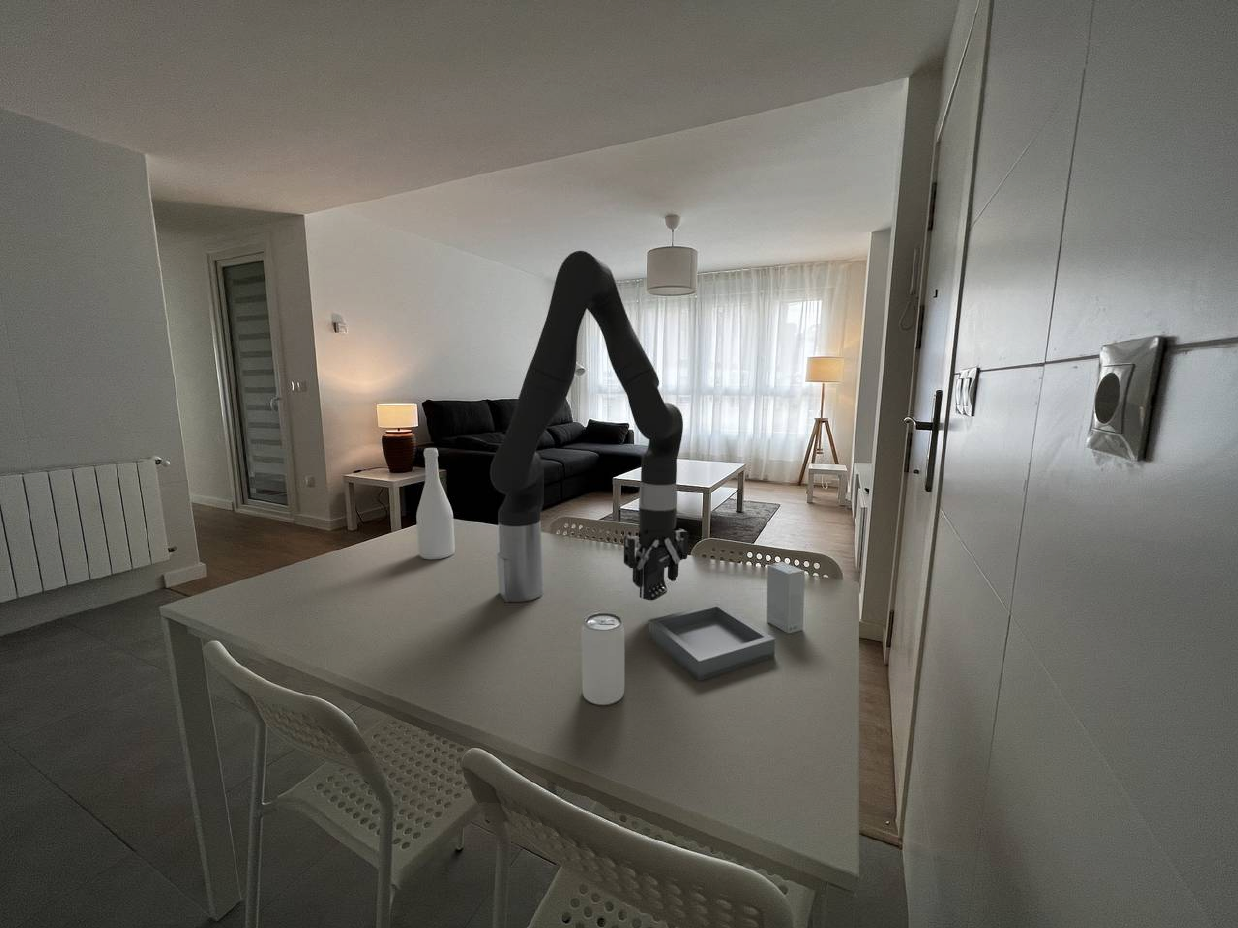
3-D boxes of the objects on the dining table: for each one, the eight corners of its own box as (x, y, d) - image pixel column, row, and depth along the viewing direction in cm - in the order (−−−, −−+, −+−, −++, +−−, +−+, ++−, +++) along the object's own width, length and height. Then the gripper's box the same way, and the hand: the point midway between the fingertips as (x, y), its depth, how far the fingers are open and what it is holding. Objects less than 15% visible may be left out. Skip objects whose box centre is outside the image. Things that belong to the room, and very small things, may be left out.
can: (582, 682, 80) (581, 611, 78) (622, 680, 81) (622, 610, 79) (582, 708, 74) (581, 632, 72) (626, 705, 74) (626, 630, 72)
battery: (653, 604, 99) (655, 548, 97) (638, 599, 101) (639, 544, 99) (672, 593, 104) (674, 540, 102) (657, 588, 106) (659, 536, 105)
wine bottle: (421, 550, 144) (414, 447, 139) (456, 547, 146) (450, 446, 141) (416, 561, 135) (409, 451, 130) (453, 558, 137) (447, 450, 132)
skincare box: (803, 630, 97) (807, 570, 95) (786, 635, 95) (789, 574, 93) (780, 616, 102) (783, 560, 100) (764, 621, 100) (766, 563, 99)
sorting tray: (698, 681, 80) (699, 661, 80) (648, 636, 94) (649, 619, 94) (774, 657, 87) (775, 638, 87) (717, 619, 101) (717, 603, 101)
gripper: (678, 497, 106) (675, 571, 108) (617, 503, 99) (615, 581, 102) (698, 505, 99) (695, 583, 102) (634, 512, 93) (632, 595, 96)
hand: (655, 582), depth 102 cm, fingers closed on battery, 7 cm apart
